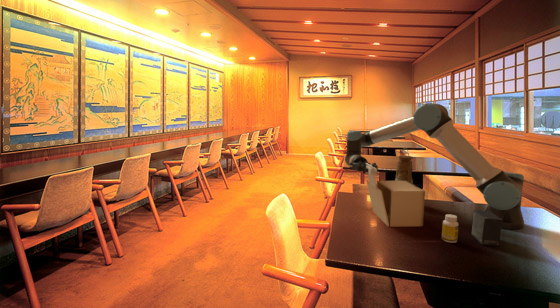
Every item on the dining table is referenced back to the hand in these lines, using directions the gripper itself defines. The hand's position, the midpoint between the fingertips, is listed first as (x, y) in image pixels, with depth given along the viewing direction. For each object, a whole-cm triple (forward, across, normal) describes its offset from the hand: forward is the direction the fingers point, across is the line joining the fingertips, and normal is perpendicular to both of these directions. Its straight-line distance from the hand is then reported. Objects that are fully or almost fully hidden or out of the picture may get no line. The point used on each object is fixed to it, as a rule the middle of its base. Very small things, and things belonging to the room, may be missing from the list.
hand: (373, 172), depth 137 cm
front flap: (-5, -6, -23) cm, 24 cm away
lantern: (-33, -27, -24) cm, 49 cm away
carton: (-5, -14, -23) cm, 28 cm away
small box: (+19, -38, -24) cm, 49 cm away
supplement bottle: (+18, -24, -24) cm, 39 cm away
